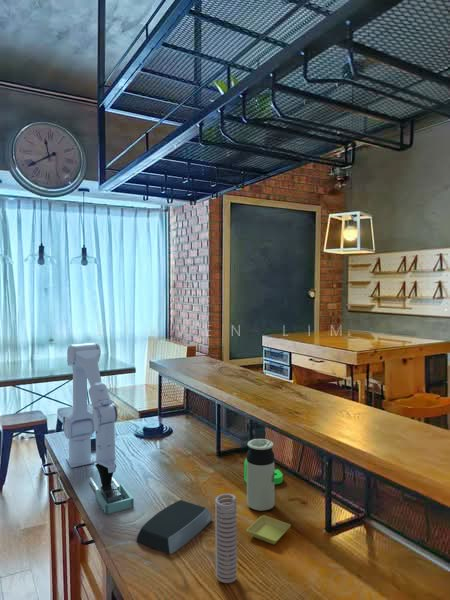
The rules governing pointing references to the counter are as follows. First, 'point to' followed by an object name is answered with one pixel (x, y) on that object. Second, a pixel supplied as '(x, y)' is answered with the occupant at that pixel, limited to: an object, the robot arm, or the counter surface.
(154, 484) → the counter surface
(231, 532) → the coil
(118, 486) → the slot guide
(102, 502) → the tray
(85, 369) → the robot arm
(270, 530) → the saucer
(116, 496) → the block
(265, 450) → the travel mug
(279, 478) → the mechanical part
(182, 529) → the external hard drive
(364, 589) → the counter surface
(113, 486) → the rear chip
